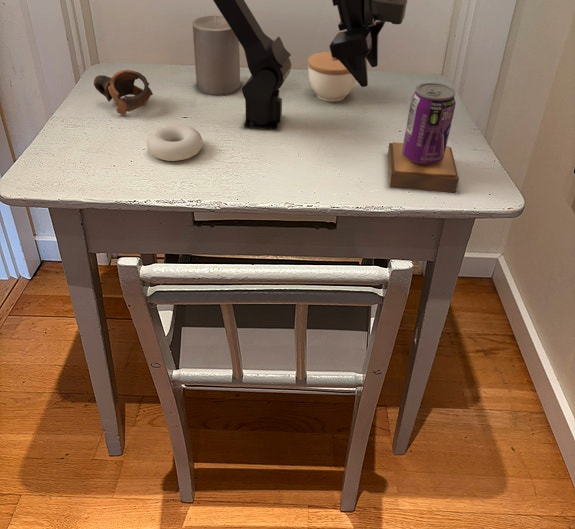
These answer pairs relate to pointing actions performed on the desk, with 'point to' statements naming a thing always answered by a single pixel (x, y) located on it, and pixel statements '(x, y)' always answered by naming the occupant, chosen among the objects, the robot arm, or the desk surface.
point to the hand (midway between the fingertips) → (369, 76)
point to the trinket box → (329, 77)
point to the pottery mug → (124, 90)
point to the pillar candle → (216, 56)
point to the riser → (421, 171)
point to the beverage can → (429, 123)
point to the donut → (174, 142)
